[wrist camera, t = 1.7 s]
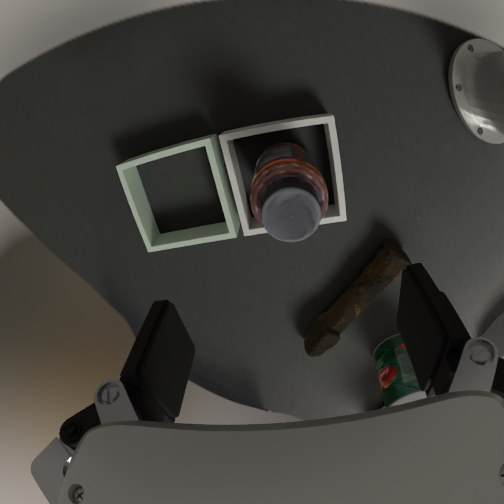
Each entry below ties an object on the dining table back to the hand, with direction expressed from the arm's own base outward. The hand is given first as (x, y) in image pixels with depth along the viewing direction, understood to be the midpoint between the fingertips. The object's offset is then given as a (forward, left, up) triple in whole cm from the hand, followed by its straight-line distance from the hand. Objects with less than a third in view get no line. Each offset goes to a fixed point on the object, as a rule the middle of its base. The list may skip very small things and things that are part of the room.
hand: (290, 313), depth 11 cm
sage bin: (+11, 0, -20) cm, 23 cm away
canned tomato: (-14, +30, -21) cm, 39 cm away
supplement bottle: (0, 0, -21) cm, 21 cm away
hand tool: (-6, +18, -21) cm, 28 cm away
